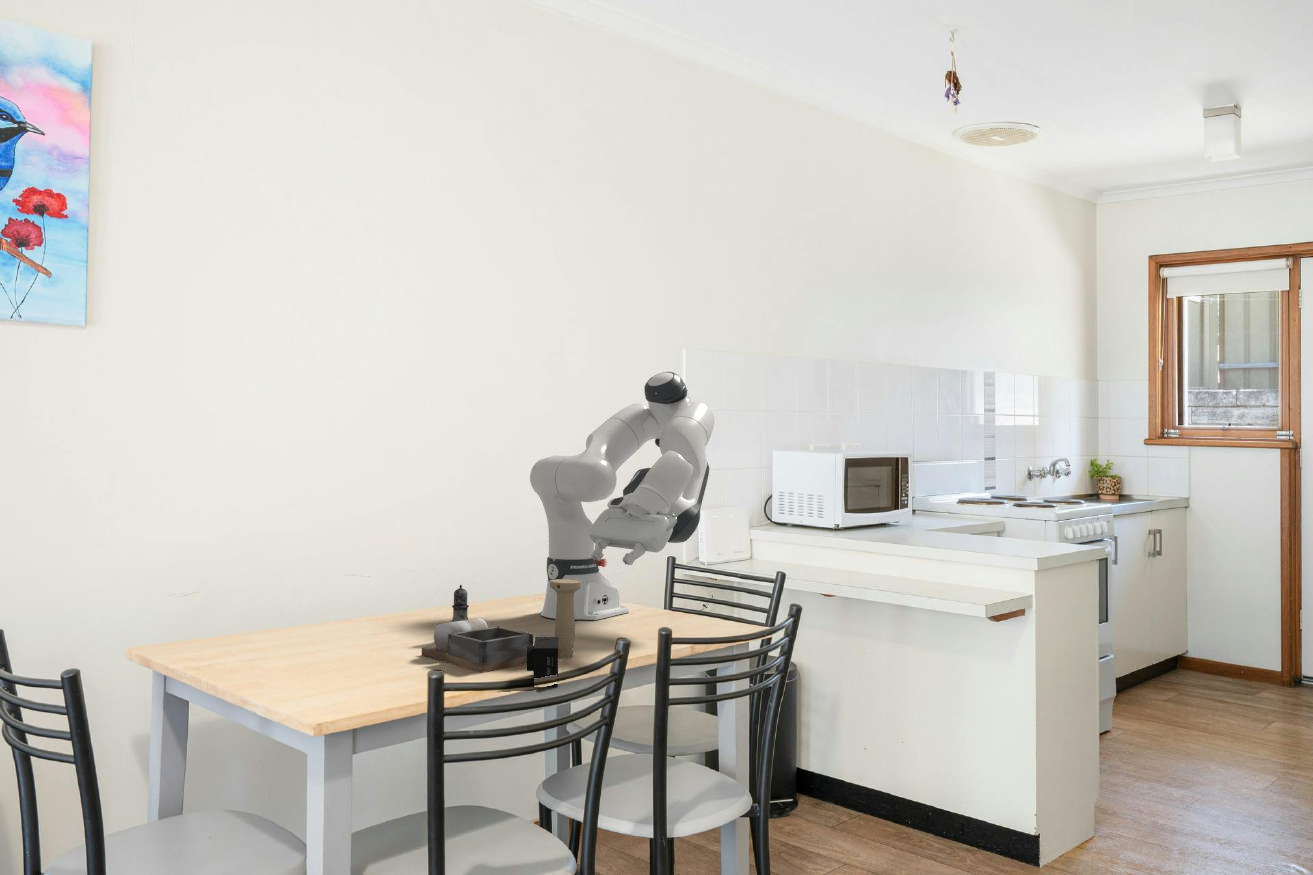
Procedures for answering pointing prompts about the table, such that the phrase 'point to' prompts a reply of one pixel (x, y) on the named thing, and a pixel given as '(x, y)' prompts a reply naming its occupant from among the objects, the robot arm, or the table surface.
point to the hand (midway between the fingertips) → (610, 560)
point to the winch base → (479, 645)
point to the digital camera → (543, 657)
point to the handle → (565, 614)
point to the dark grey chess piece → (460, 605)
